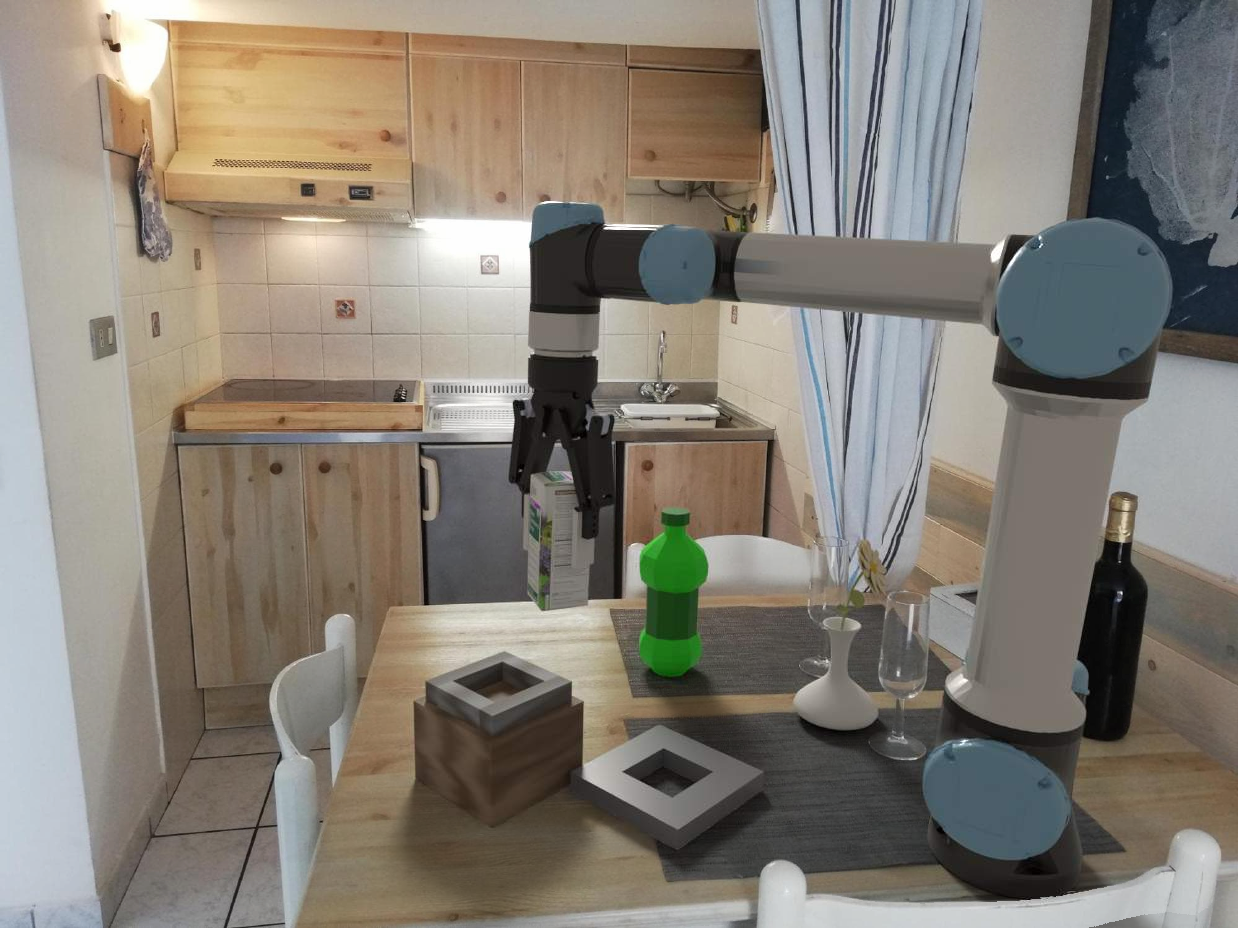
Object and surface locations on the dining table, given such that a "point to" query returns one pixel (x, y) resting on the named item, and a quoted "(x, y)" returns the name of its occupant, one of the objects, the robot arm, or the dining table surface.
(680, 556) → the plastic bottle
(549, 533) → the syrup box
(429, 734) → the raised socket
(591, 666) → the dining table surface
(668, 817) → the low socket block
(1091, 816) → the dining table surface
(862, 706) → the flower in vase
